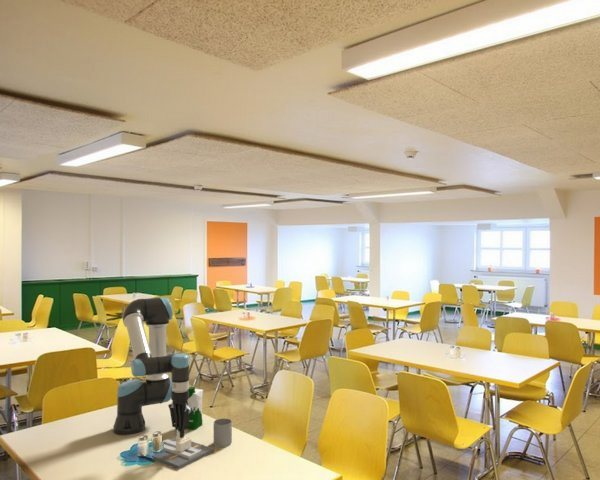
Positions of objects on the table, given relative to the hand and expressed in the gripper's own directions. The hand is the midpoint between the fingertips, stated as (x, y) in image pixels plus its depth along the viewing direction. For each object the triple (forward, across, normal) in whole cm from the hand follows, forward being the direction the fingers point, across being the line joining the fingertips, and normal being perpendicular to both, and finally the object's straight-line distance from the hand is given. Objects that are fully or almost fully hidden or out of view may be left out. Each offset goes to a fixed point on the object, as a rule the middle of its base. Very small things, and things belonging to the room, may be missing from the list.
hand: (180, 444), depth 205 cm
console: (+4, -2, 0) cm, 5 cm away
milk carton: (+5, -20, +26) cm, 33 cm away
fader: (+3, +2, 0) cm, 3 cm away
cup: (+5, +8, +19) cm, 21 cm away
